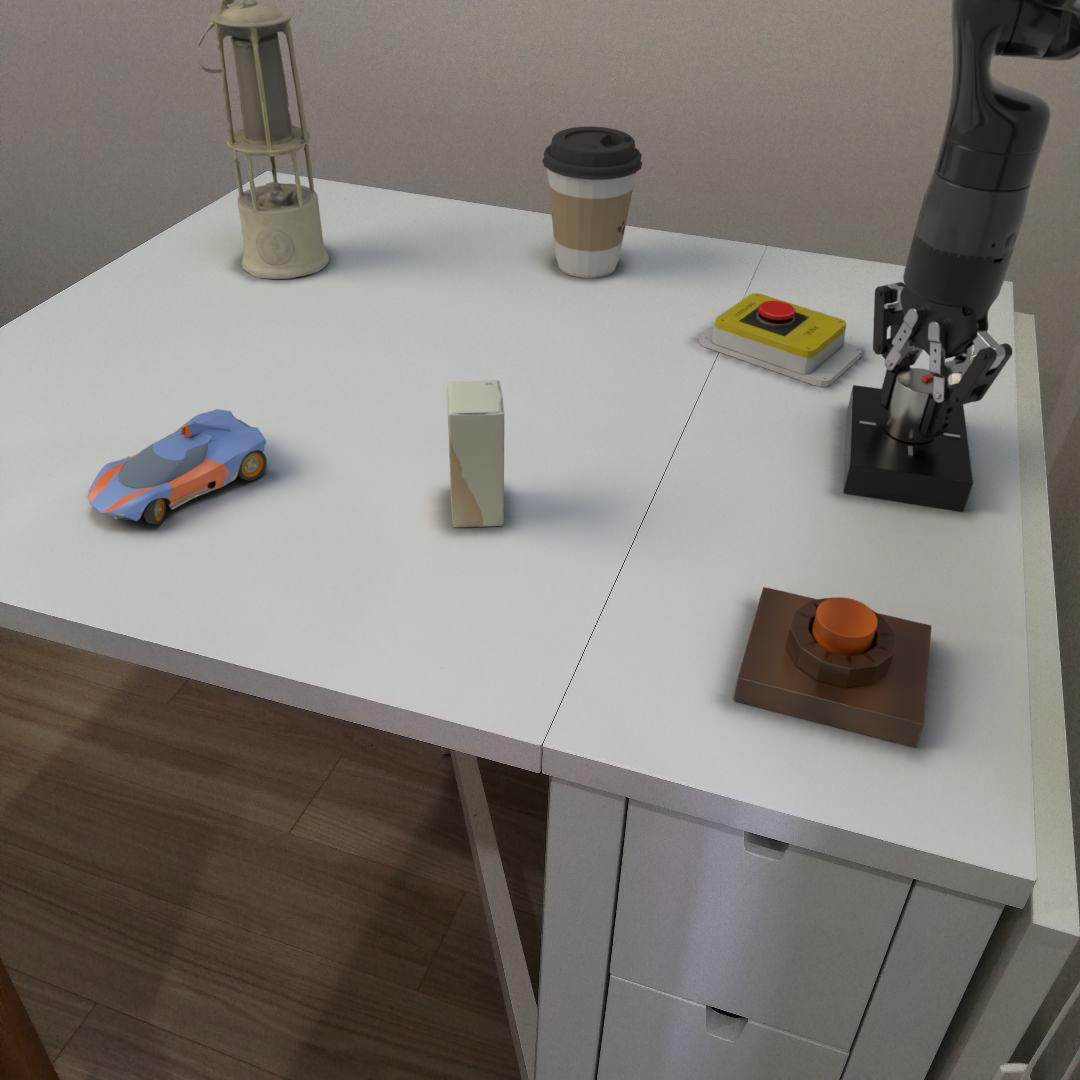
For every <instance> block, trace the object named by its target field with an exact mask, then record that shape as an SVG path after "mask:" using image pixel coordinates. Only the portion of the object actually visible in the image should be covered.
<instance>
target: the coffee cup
mask: <svg viewBox="0 0 1080 1080" xmlns="http://www.w3.org/2000/svg"><path fill="white" fill-rule="evenodd" d="M635 141H636V140H635V139H634V138H633V136H632V135H630V134H629V133H627V132H625V131H622V130H619V129H615V128H611V127H605V126H592V125H591V126H577V127H569V128H566V129H562V130H559V131H557V132H556V133H555V134H553V136H552V138H551V143H550V144H549V145H547V146H546V147H545V149H544V151H543V159H542V161H541V162H542V165H543V167H544V168H546V171H547V181H548V191H549V202H550V213H551V222H552V232H553V240H554V241H553V243H554V252H555V259H556V262H557V265H558V266H557V267H558V269H559V270H560V271H562V273H564V274H566V275H569V276H572V277H575V278H581V279H582V278H583V279H593V278H594V279H598V278H602V277H606V276H609V275H611V274H612V273H614V272H615V271H616V268H617V265H618V263H619V260H620V257H621V250H622V246H623V242H624V241H623V240H624V235H625V231H626V225H627V221H628V215H629V211H630V207H631V206H630V205H631V201H632V196H633V191H634V185H635V180H636V175H637V172H639V171H640V170H642V166H643V162H642V156H643V155H642V153H641V152H640V150H639V149H638V148H637V147H636V142H635Z"/></svg>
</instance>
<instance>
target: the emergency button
mask: <svg viewBox="0 0 1080 1080" xmlns="http://www.w3.org/2000/svg"><path fill="white" fill-rule="evenodd" d="M846 330H847V322H846V320H845V319H843V318H839V317H836V316H833V315H831V314H830V315H829V314H826V313H823V312H820V311H817V310H813V309H810V308H807V307H803V306H801V305H798V304H794V303H791V302H788V301H785V300H782V299H779V298H775V297H772V296H769V295H766V294H764V293H763V294H762V293H759V292H754V293H753V292H752V293H750V294H748V295H747V296H745V297H744V298H742V299H741V300H739V301H738V302H737V303H735V304H734V305H732V306H731V307H729V308H728V309H727V310H725V311H723V312H722V313H721V314H720V315H717V317H716V319H715V322H714V325H713V326H712V327H710V328H708V329H707V330H706V331H704V332H703V333H701V334H700V336H699V338H698V339H699V340H698V343H699V345H700V346H702V347H704V348H707V349H709V350H713V351H715V352H718V353H721V354H724V355H725V356H730V357H731V358H732V357H733V358H735V359H738V360H741V361H744V362H747V363H749V364H753V365H755V366H758V367H760V368H764V369H766V370H769V371H772V372H775V373H779V374H781V375H783V376H786V377H790V378H792V379H795V380H798V381H801V382H804V383H806V384H809V385H813V386H815V387H819V388H827V387H829V386H830V385H832V384H833V383H834V382H835V381H836V380H837V379H839V377H841V376H842V375H843V374H844V373H845V372H847V370H849V369H850V368H851V367H852V366H853V365H854V364H855V363H857V362H858V361H859V360H860V359H861V356H862V351H863V350H862V348H860V347H859V346H857V345H854V344H851V343H848V342H845V336H846Z"/></svg>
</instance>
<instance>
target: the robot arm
mask: <svg viewBox="0 0 1080 1080" xmlns="http://www.w3.org/2000/svg"><path fill="white" fill-rule="evenodd" d="M950 15H951V16H950V17H951V43H952V44H951V45H952V77H951V91H950V101H949V108H948V113H947V118H946V122H945V127H944V131H943V134H942V139H941V143H940V147H939V150H938V155H937V158H936V162H935V166H934V168H933V172H932V174H931V175H932V176H931V178H930V180H929V183H928V186H927V188H926V189H925V193H924V195H923V198H922V202H921V206H920V209H919V214H918V217H917V221H916V225H915V228H914V233H913V237H912V240H911V245H910V248H909V251H908V256H907V260H906V264H905V268H904V271H903V276H902V280H903V282H902V281H900V282H895V283H890V284H889V283H888V284H885V285H879V286H877V287H876V288H875V289H874V301H873V302H874V306H873V333H872V335H873V336H872V351H873V352H874V354H875V355H877V356H882V357H883V359H884V366H885V369H886V371H885V375H884V379H883V383H882V386H881V388H880V389H881V399H882V400H881V406H882V407H883V408H885V409H886V410H888V408H889V404H890V400H891V396H892V393H893V389H894V385H895V381H896V377H897V374H898V373H899V372H900V371H902V370H905V369H910V368H911V366H913V365H915V364H916V362H917V360H918V359H919V357H920V356H921V354H922V352H925V353H926V354H927V355H928V356H929V360H928V361H929V364H928V370H929V372H930V374H932V375H933V398H930V400H929V403H928V406H927V410H926V413H925V416H924V420H923V423H922V426H921V430H920V434H921V435H922V436H924V437H925V438H927V439H928V438H932V437H936V436H939V435H941V434H942V433H945V432H947V431H948V429H949V428H950V425H951V421H952V418H953V415H954V412H955V409H956V407H958V406H961V405H963V406H964V405H966V404H970V403H977V402H980V401H981V400H982V399H983V398H984V397H985V395H986V394H987V393H988V391H989V389H990V388H991V386H992V385H993V383H994V382H995V380H996V379H997V378H998V376H999V375H1000V374H1001V371H1002V370H1003V369H1004V367H1005V366H1006V364H1007V363H1008V361H1009V360H1010V358H1011V357H1012V355H1013V348H1012V346H1011V344H1009V343H1006V342H1005V343H1000V344H999V343H998V342H997V341H996V340H995V339H994V338H993V337H992V335H990V333H989V332H988V331H989V311H990V308H991V307H992V305H993V304H994V303H995V301H996V300H997V299H998V297H999V295H1000V293H1001V290H1002V287H1003V283H1004V280H1005V277H1006V275H1007V272H1008V268H1009V265H1010V262H1011V259H1012V257H1013V256H1012V255H1013V252H1014V249H1015V246H1016V243H1017V241H1018V238H1019V234H1020V230H1021V228H1022V225H1023V222H1024V219H1025V214H1026V210H1027V204H1028V198H1029V194H1030V189H1031V185H1032V182H1033V178H1034V175H1035V173H1036V169H1037V167H1038V164H1039V160H1040V158H1041V153H1042V151H1043V147H1044V144H1045V141H1046V138H1047V136H1048V131H1049V129H1050V124H1051V118H1052V110H1051V108H1050V106H1049V104H1048V102H1047V101H1046V100H1045V99H1044V98H1042V97H1041V96H1038V95H1037V94H1034V93H1031V92H1029V91H1027V90H1024V89H1020V88H1017V87H1014V86H1011V85H1008V84H1006V83H1004V82H1001V81H1000V80H998V79H996V77H994V75H993V74H992V68H991V67H992V66H991V65H992V60H993V57H999V56H1000V57H1006V58H1016V59H1017V58H1018V59H1030V60H1032V59H1033V60H1039V61H1052V62H1065V61H1071V60H1075V59H1077V58H1080V0H951V14H950ZM888 328H890V333H889V338H888ZM973 346H974V350H973ZM951 358H953V359H951ZM946 359H951V360H949V361H946ZM949 379H950V385H949V386H948V381H949Z"/></svg>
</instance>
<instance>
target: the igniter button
mask: <svg viewBox="0 0 1080 1080" xmlns="http://www.w3.org/2000/svg"><path fill="white" fill-rule="evenodd" d="M829 598H830V599H827V600H825V601H823V602H822V603H821V604H820V605H819V606H818V608H817V611H816V615H815V620H814V624H813V628H812V634H813V637H814V639H815V641H816V642H817V643H818V644H819V645H820V646H822V647H823V648H825V649H826V650H828V651H829V652H833V653H838V654H842V655H846V656H853V655H860V654H863V653H865V652H866V651H867V650H869V648H870V647H871V645H872V642H873V638H874V635H875V631H876V628H877V624H878V622H877V617H876V615H875V613H874V612H873V611H874V610H873V609H872V608H870V607H869V606H868V605H866V604H865V603H863V602H861V601H859V600H856V599H853V598H850V597H841V596H839V597H838V596H837V597H835V598H833V597H829ZM871 609H872V610H873V611H872V610H871Z"/></svg>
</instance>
